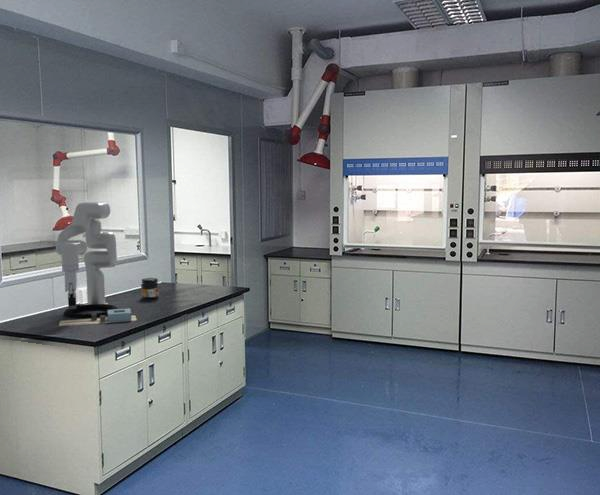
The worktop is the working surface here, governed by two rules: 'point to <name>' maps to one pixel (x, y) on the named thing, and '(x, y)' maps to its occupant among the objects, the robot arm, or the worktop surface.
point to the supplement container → (149, 289)
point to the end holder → (119, 315)
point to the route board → (89, 320)
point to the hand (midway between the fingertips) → (72, 304)
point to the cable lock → (88, 307)
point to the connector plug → (72, 306)
